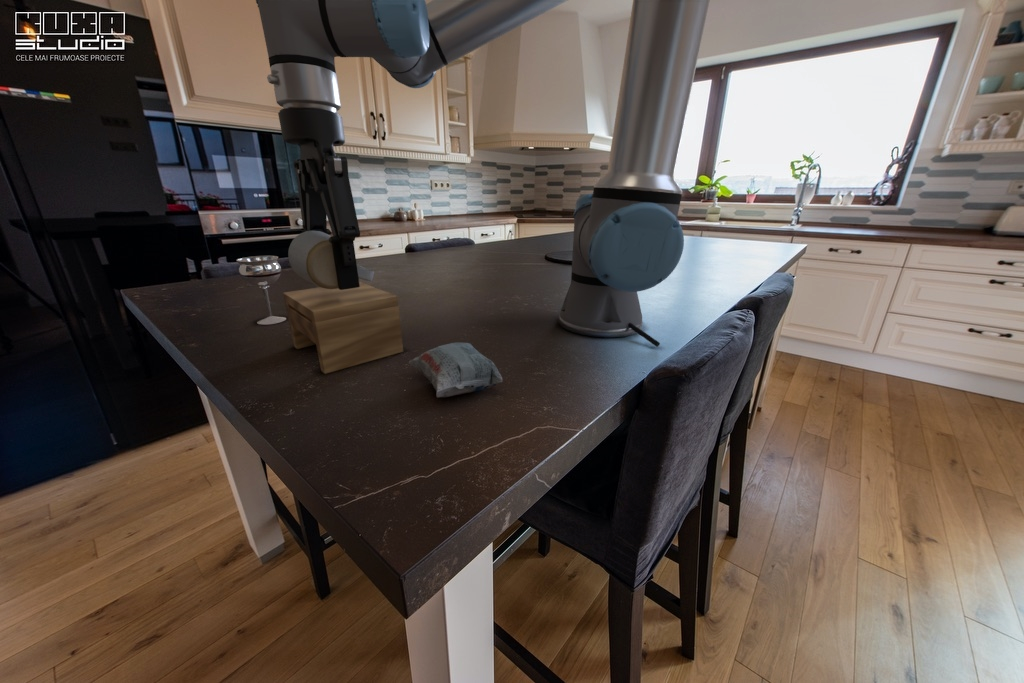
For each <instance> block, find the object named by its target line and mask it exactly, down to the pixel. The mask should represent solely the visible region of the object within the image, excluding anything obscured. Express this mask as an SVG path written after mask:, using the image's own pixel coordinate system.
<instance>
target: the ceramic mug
mask: <svg viewBox="0 0 1024 683" xmlns="http://www.w3.org/2000/svg"><path fill="white" fill-rule="evenodd" d="M330 237H331V235H328V234H326V233H324V232H320V231H303V232H301V233H299V234H298V235H296V236H295V237H294V238H293V239H292V240H291V242H290V245H289V247H288V251H287V252H288V253H287V256H288V261H289V265H290V267H291V269H292V270H293V272H294V273H295V274H296V276H298V277H300V278H302V279H303V280H305V281H307V282H308V283H311V284H313V285H315V286H316V287H317V288H318V287H321V288H325V289H337V288H339V287H338V280H337V274H336V268H335V262H334V255H333V249H332V243H330V242H329V240H328V239H329V238H330ZM357 262H358V261H357V260H356V263H357ZM357 271H358V278H359V280H364V281H366V282H372V281H373V278H374V275H375V271H373V270H371V269H368V268H366V267H363V266H361V265H359V264H358V263H357Z"/></svg>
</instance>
